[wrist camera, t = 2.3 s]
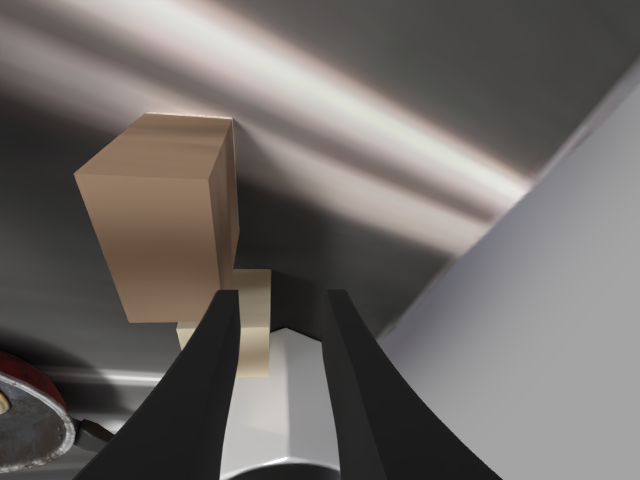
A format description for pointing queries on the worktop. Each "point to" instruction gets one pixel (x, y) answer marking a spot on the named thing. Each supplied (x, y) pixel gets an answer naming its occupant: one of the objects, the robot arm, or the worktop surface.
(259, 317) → the maple block
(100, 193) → the walnut block
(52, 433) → the frying pan
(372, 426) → the robot arm
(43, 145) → the worktop surface
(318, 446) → the jar
